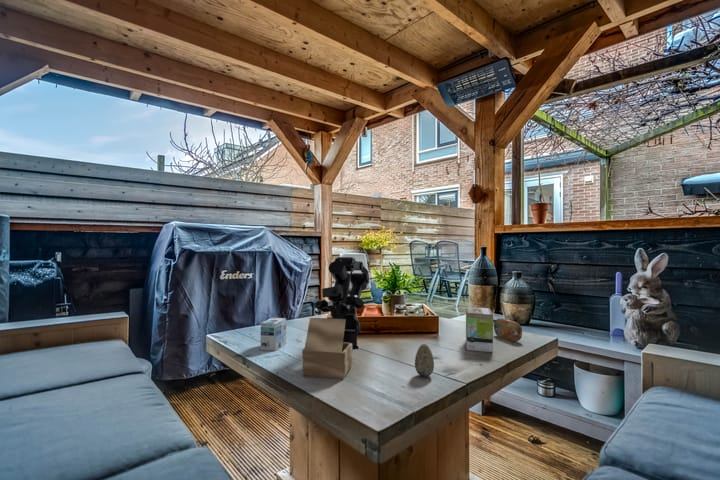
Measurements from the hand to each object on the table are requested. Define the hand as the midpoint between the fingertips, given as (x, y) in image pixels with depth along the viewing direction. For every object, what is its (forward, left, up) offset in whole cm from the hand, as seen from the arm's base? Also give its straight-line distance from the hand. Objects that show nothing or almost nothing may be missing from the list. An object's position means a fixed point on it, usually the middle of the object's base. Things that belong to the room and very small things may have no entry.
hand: (335, 326), depth 123 cm
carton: (+5, +9, -12) cm, 16 cm away
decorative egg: (-22, +24, -13) cm, 35 cm away
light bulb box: (+18, -26, -13) cm, 34 cm away
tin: (-79, 0, -13) cm, 80 cm away
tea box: (-60, +4, -13) cm, 61 cm away
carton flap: (+7, +11, 0) cm, 13 cm away
